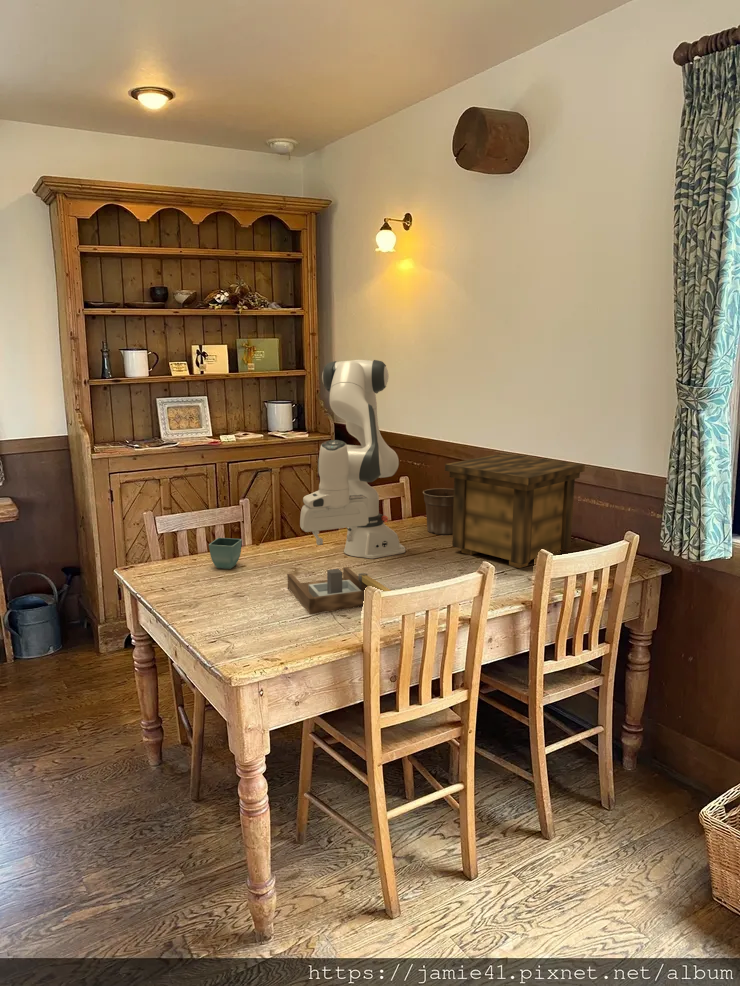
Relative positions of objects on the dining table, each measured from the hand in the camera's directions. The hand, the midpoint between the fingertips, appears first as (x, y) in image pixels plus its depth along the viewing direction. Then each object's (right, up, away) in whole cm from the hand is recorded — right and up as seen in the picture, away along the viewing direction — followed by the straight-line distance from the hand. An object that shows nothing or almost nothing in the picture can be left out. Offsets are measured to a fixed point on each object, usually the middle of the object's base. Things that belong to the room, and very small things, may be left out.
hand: (335, 542), depth 222 cm
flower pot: (-39, -11, +36) cm, 54 cm away
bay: (-2, -17, +8) cm, 19 cm away
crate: (+62, -7, +53) cm, 82 cm away
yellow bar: (+12, -13, 0) cm, 18 cm away
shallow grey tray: (0, -16, +3) cm, 17 cm away
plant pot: (+39, -1, +82) cm, 91 cm away
